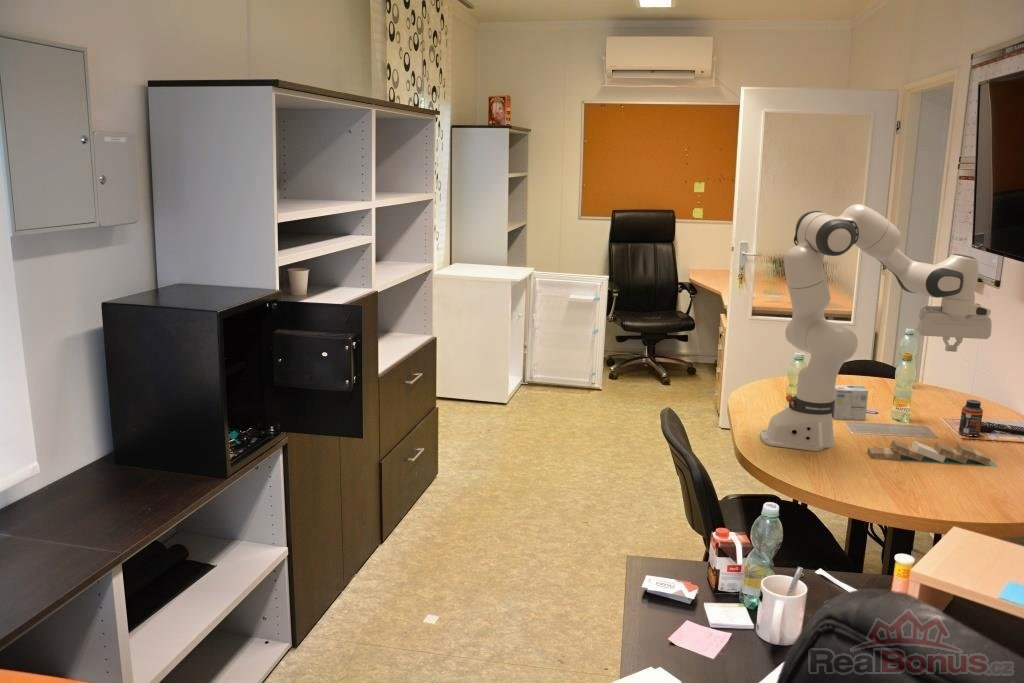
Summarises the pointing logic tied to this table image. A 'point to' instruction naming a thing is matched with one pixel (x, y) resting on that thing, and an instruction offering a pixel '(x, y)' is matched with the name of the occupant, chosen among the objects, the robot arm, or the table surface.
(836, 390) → the light bulb box
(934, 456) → the domino
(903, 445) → the domino
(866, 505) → the table surface
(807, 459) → the table surface
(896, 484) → the table surface
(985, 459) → the domino
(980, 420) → the supplement bottle
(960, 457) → the domino
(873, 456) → the domino
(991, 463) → the felt runner
